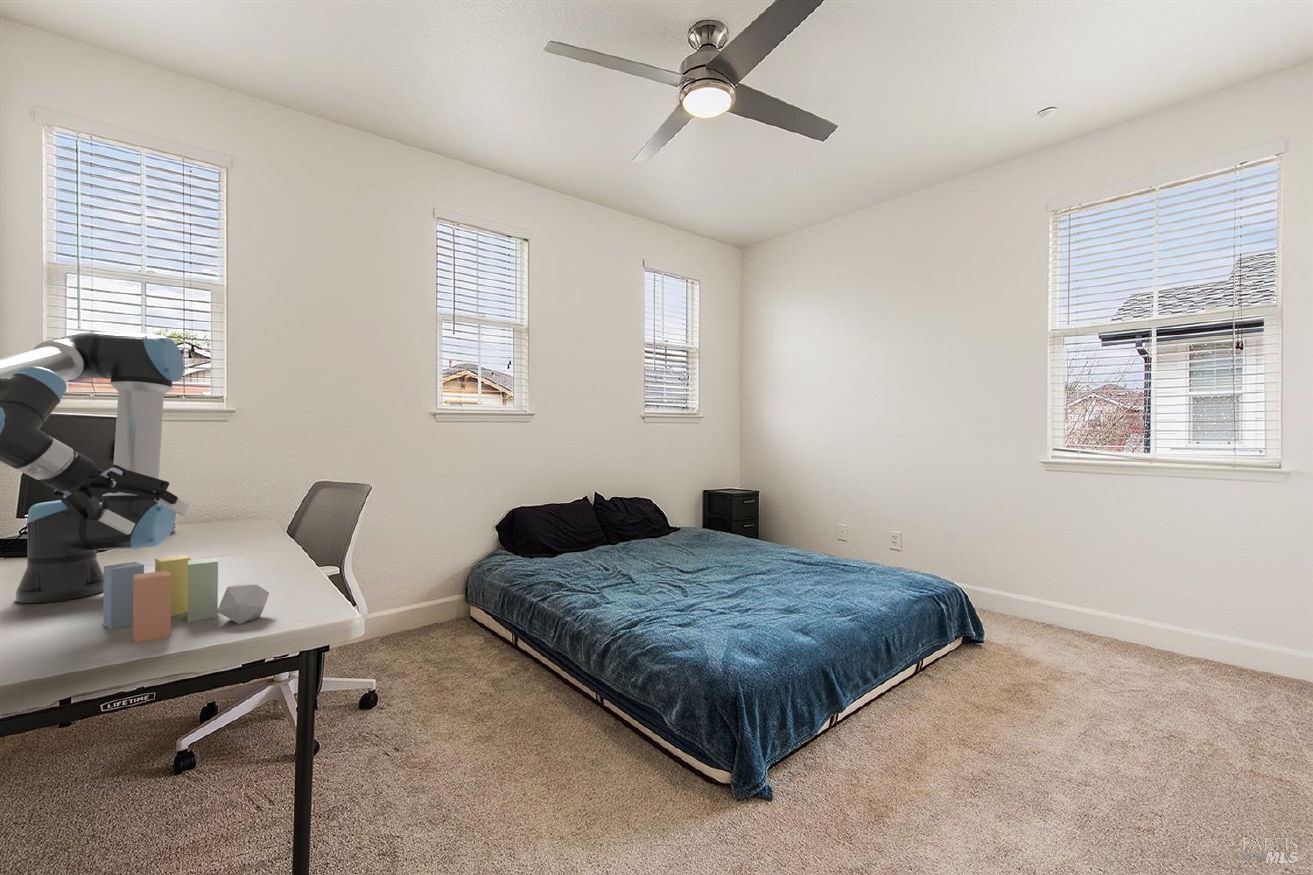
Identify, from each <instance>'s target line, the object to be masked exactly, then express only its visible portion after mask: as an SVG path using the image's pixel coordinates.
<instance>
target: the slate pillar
mask: <svg viewBox="0 0 1313 875" xmlns="http://www.w3.org/2000/svg"><path fill="white" fill-rule="evenodd" d="M103 573H104V591H103V602H102V604H103V607H102V608H103V611H102V612H103V620H102V621H103V626H105V627H107V628H109V629H111V630H113V629H118V628H123V627H124V628H125V627H128V626H133V575H136V574H144V573H145V565H144V564H142V563H140V562H137V561H131V562H125V563H117V564H112V565H111V564H109V565H104V566H103Z"/></svg>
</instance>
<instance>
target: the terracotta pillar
mask: <svg viewBox="0 0 1313 875" xmlns="http://www.w3.org/2000/svg"><path fill="white" fill-rule="evenodd" d="M171 617H172V616H171V574H170V573H169V572H168V571H159V572H155V571H153V572H146V573H145V572H144V574H136V575H133V625H132V638H133V640H134V642H135V644H138V643H139V644H140V643H144V642H149V641H153V640H159V639H166V638H169V637H171V633H172V632H171V630H172V628H171V627H172V626H171V624H172V623H171V622H172V621H171V620H172V618H171Z"/></svg>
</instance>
